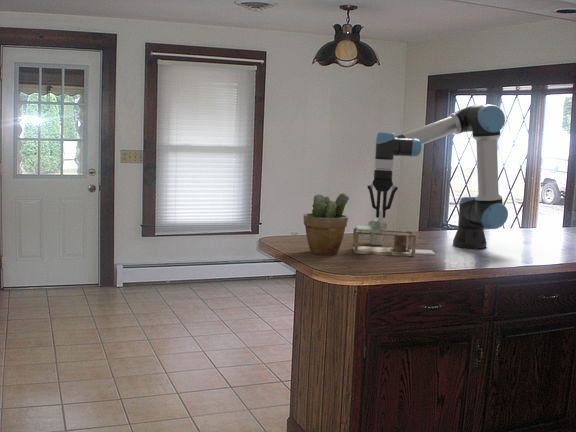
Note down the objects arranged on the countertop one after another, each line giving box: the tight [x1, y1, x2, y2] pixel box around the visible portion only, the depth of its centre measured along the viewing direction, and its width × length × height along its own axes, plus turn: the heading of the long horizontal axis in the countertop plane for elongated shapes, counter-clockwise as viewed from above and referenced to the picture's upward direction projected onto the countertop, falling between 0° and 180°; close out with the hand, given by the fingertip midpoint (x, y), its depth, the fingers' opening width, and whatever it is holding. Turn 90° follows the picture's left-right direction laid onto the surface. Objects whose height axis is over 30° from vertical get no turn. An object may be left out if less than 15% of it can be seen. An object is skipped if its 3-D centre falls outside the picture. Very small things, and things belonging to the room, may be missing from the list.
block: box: [393, 236, 408, 252], centre depth 293 cm, size 4×4×8 cm
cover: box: [355, 218, 380, 233], centre depth 292 cm, size 9×12×4 cm
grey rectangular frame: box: [351, 227, 417, 257], centre depth 293 cm, size 25×12×9 cm, turn 89°
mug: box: [359, 220, 388, 246], centre depth 314 cm, size 8×13×10 cm, turn 78°
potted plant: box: [302, 192, 350, 256], centre depth 284 cm, size 18×19×25 cm
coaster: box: [411, 248, 436, 256], centre depth 297 cm, size 9×9×1 cm
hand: (380, 225), depth 292 cm, fingers closed
